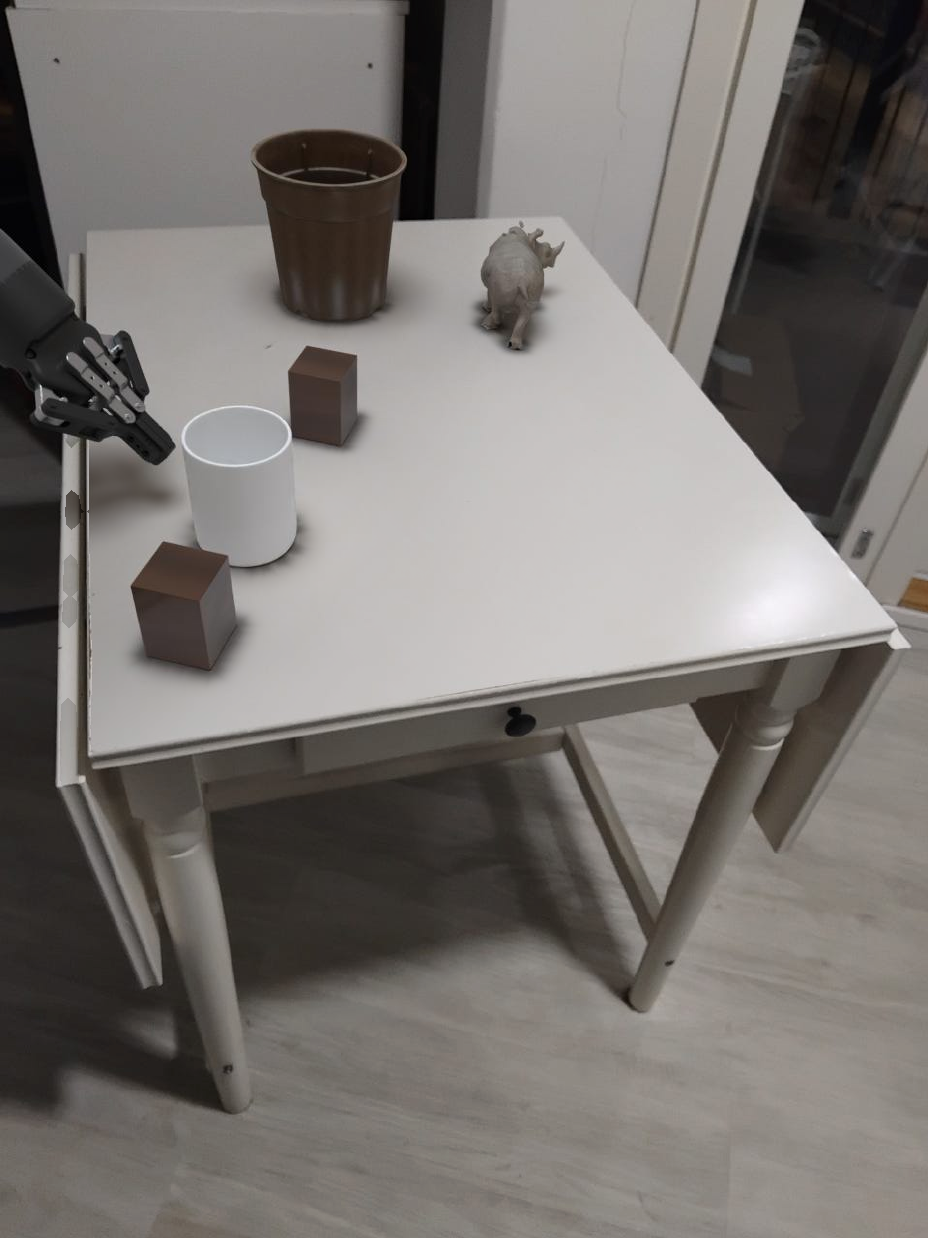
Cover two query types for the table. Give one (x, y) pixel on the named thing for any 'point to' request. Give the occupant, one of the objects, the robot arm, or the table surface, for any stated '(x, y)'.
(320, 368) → the block far
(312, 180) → the plant pot
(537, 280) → the rhinoceros figurine
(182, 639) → the block near
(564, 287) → the table surface
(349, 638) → the table surface
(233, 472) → the cup
